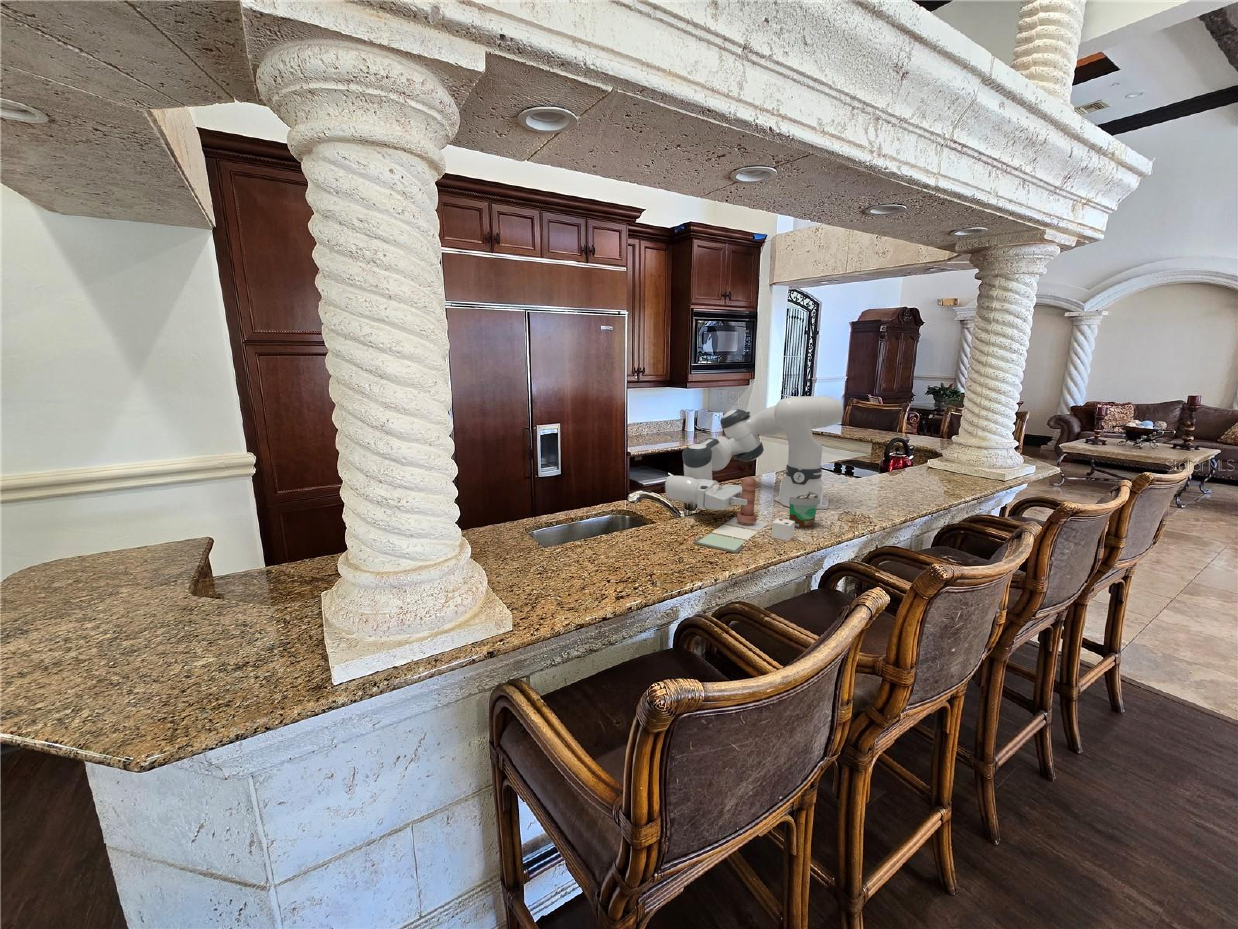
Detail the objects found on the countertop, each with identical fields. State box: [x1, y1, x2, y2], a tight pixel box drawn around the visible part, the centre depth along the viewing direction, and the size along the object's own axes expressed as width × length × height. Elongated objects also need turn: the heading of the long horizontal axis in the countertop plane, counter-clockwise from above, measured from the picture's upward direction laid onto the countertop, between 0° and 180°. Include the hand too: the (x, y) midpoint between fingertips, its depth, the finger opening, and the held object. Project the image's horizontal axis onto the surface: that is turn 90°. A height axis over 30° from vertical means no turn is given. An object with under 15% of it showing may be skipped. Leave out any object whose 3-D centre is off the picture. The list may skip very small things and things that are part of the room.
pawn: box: [736, 476, 758, 523], centre depth 155 cm, size 6×6×14 cm
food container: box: [788, 491, 820, 529], centre depth 155 cm, size 12×6×10 cm, turn 131°
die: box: [770, 517, 795, 542], centre depth 145 cm, size 5×5×5 cm
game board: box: [692, 516, 769, 554], centre depth 149 cm, size 31×13×1 cm, turn 146°
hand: (750, 500), depth 155 cm, fingers closed on pawn, 4 cm apart
